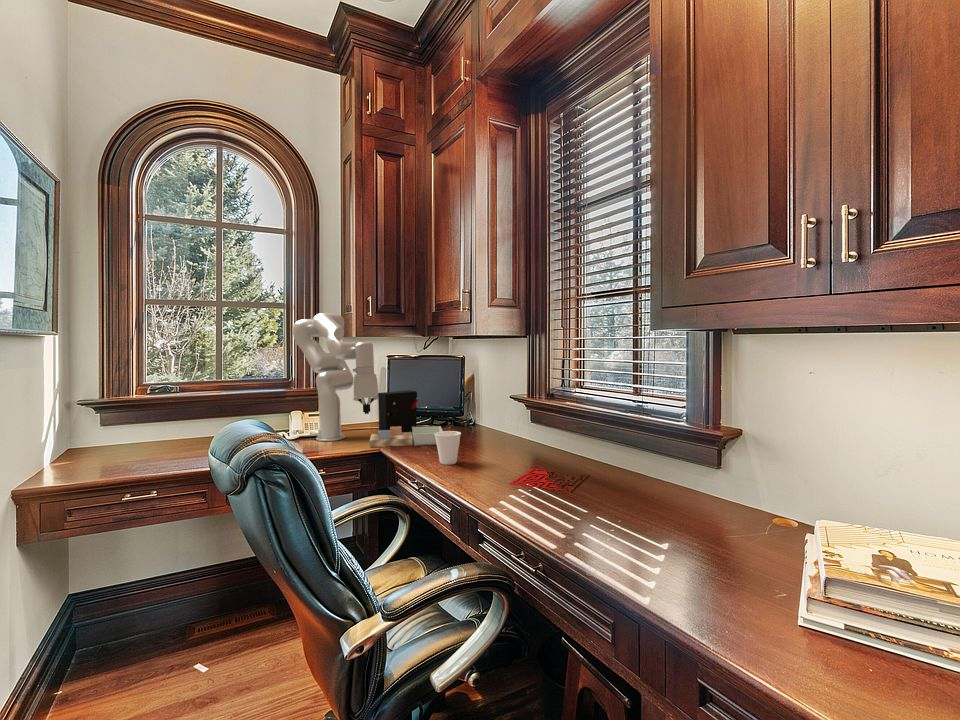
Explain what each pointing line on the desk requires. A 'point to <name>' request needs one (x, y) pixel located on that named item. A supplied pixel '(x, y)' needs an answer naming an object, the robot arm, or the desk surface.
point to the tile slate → (383, 434)
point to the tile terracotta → (395, 430)
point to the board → (392, 440)
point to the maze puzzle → (534, 479)
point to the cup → (447, 446)
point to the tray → (425, 435)
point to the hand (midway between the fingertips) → (366, 413)
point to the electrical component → (398, 410)
